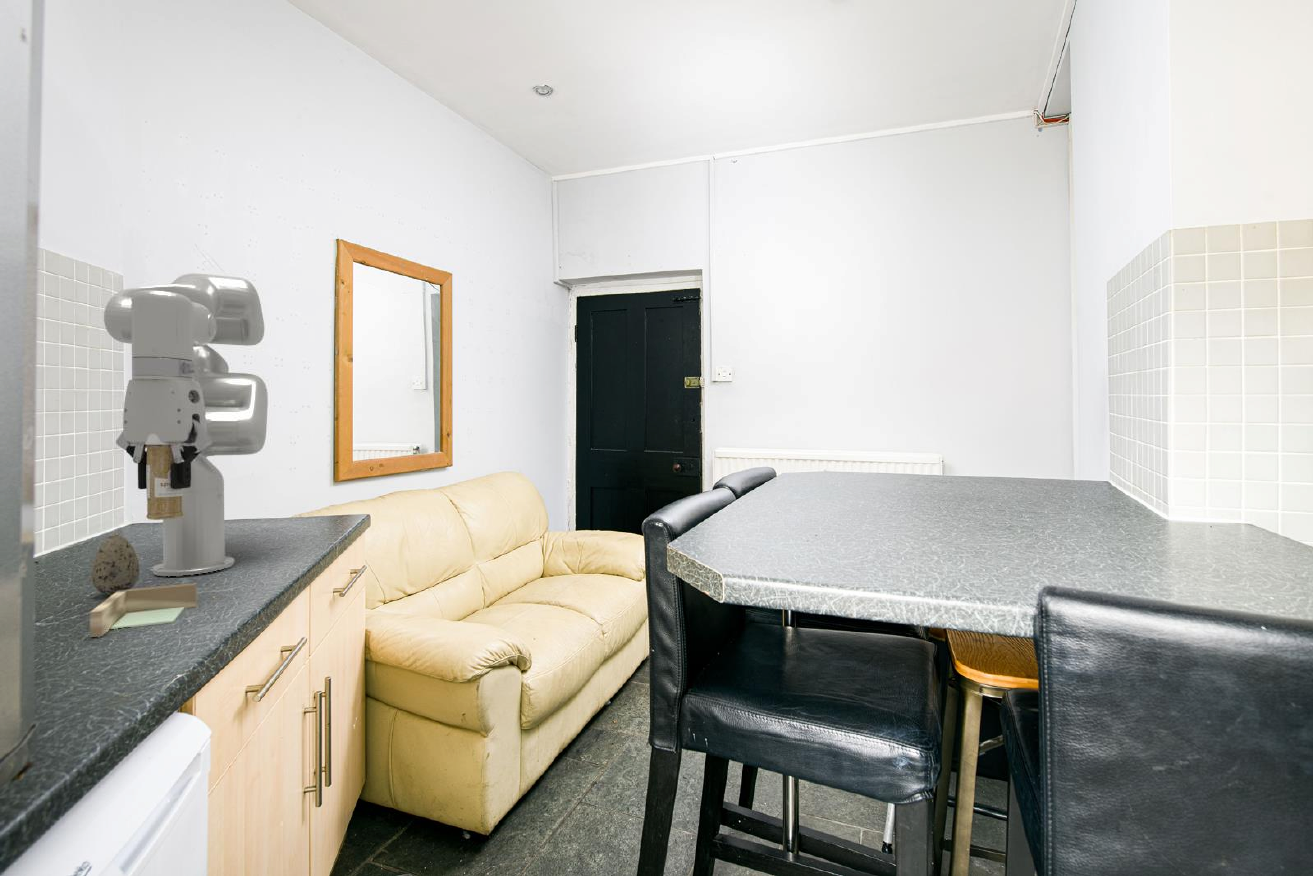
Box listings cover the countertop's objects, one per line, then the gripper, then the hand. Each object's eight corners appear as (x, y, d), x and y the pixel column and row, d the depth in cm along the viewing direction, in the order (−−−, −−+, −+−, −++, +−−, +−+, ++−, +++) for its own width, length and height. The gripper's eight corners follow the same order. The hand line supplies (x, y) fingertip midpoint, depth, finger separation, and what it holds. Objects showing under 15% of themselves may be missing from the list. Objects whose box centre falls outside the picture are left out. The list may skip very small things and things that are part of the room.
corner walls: (118, 613, 91) (118, 590, 91) (197, 604, 96) (196, 583, 96) (90, 638, 81) (89, 612, 81) (179, 627, 86) (179, 603, 86)
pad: (126, 615, 91) (126, 613, 91) (184, 608, 94) (184, 607, 94) (110, 629, 84) (110, 627, 84) (173, 622, 88) (173, 620, 88)
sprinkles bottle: (170, 519, 93) (169, 432, 93) (138, 520, 93) (137, 432, 92) (190, 515, 98) (189, 432, 97) (159, 516, 97) (158, 432, 97)
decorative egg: (141, 595, 101) (140, 535, 101) (92, 602, 97) (91, 540, 96) (138, 587, 105) (137, 530, 105) (91, 594, 101) (89, 534, 101)
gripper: (233, 374, 99) (235, 486, 99) (130, 374, 99) (132, 486, 99) (198, 369, 91) (200, 490, 91) (87, 369, 91) (88, 490, 91)
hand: (164, 487), depth 95 cm, fingers closed on sprinkles bottle, 4 cm apart
